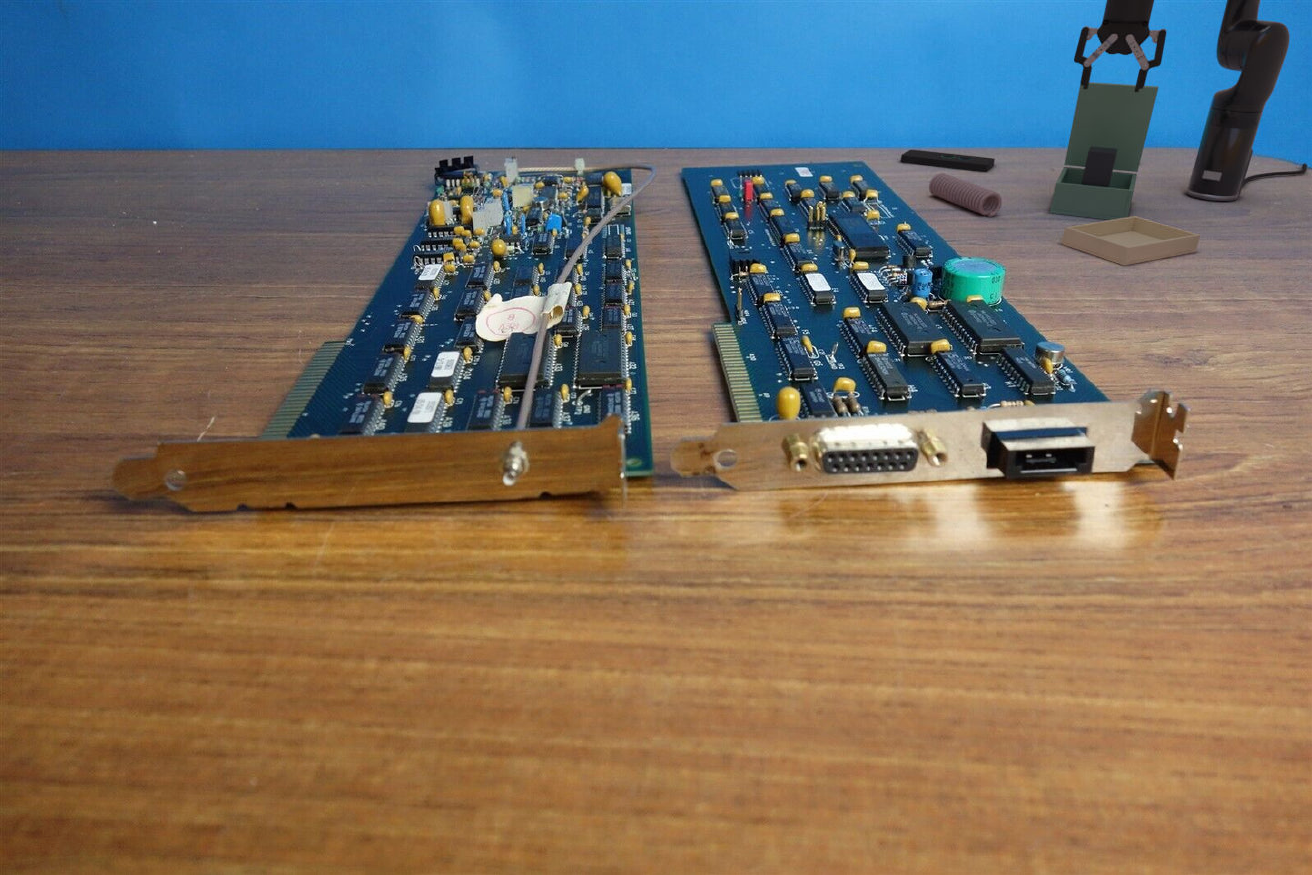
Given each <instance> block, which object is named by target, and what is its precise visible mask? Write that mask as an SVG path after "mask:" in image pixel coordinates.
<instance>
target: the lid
mask: <svg viewBox="0 0 1312 875" xmlns="http://www.w3.org/2000/svg"><path fill="white" fill-rule="evenodd" d="M1135 86H1136V84H1127V83H1126V84H1124V83H1110V82H1109V83H1108V82H1094V81H1089V86H1088V89H1083V87H1084V86H1081V83H1080V84H1079V88H1078V94H1077V99H1076V104H1075V107H1074V108H1075V109H1074V114H1073V119H1072V125H1071V129H1070V135H1069V139H1068V145H1067V149H1066V155H1065V158H1064V166H1068V167H1078V168H1082V167H1083V168H1085V165H1086V161H1087V156H1088V152H1089V149H1090V147H1102V148H1113V149H1118V150H1117V154H1116V159H1115V163H1114V167H1113V171H1120V172H1131V173H1132V172H1133V173H1138V171H1139V168H1140V164H1141V159H1142V156H1143V152H1144V147H1145V144H1146V140H1147V136H1148V132H1149V128H1150V124H1151V120H1152V116H1153V111H1154V108H1155V104H1156V99H1157V95H1158V91H1159V86H1157V85H1144V87H1143V89H1139V92H1134V91H1135Z"/></svg>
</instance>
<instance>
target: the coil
mask: <svg viewBox="0 0 1312 875" xmlns="http://www.w3.org/2000/svg"><path fill="white" fill-rule="evenodd" d="M928 190H929V191H928V192H929V193H930V194H931V195H932V196H935V197H938V198H939V199H942V200H944V201H946V202H947V201H948V202H950V203H952V204H954V205H957V206H960V207H962V208H964V209H967V210H969V211H971V212H974V213H977V214H979V215H982V216H985V217H986V216H987V217H988V218H991V217H994V216H995V215H997V214H998V212H999V211H1000V210H1001V208H1002V204H1003V203H1002V202H1003V200H1002V197H1001V194H1000V193H998V192H996V191H993V190H991V189H988V188H985V187H983V186H980V185H978V184H974V183H972V182H969V181H966V180H963V179H961V178H958V177H955V176H953V175H950V174H946V173H944V172H940V173H937V174H935V175H934V176H933V177H932V178H931V179H930V181H929V184H928Z"/></svg>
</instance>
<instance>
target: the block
mask: <svg viewBox="0 0 1312 875" xmlns="http://www.w3.org/2000/svg"><path fill="white" fill-rule="evenodd" d="M1117 150H1118V149H1113V148H1102V147H1090V149H1089V152H1088V156H1087V161H1086V165H1085V167H1084V169H1085V170H1084V174H1083V179H1082V183H1081V185H1090V186H1099V187H1109V184H1110V180H1111V176H1112V171H1114V170H1113V167H1114V163H1115V159H1116V154H1117Z"/></svg>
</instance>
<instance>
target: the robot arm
mask: <svg viewBox="0 0 1312 875" xmlns="http://www.w3.org/2000/svg"><path fill="white" fill-rule="evenodd" d="M1154 3H1155V0H1106V3H1105V9H1104V11H1103V13H1104V14H1103V16H1102V21H1101V24H1100V26H1099V27H1090V26H1088V25H1086V26H1083V27H1082V28H1081V31H1080V34H1079V37H1078V42H1077V45H1076V50H1075V53H1074V57H1073V62H1074V63H1076V64H1079V65H1081V66H1082V72H1081V77H1080V78H1081V79H1080V83H1081V86H1084V87H1083V89H1088V86H1089V82H1091V81H1090V80H1091V76H1092V70H1093V66H1092V65H1093V64H1094V63H1095V61H1096V60H1098V59H1099V57H1101V56H1102V54H1104V53H1107V54H1108V55H1118V54H1119V55H1121V56H1122V55H1123V56H1129V55H1131V54H1133V56H1134V58H1135V60H1136V61H1137V63H1138V65H1139V66H1140V68H1139V70H1138V74H1137V79H1136V83H1135V85H1136V86H1135V91H1134V92H1139V89H1143V87H1144V86H1146V80H1147V76H1148V73H1149V70H1151V69H1153V68H1156V67H1157V68H1158V67H1160V66H1161V65H1162V59H1163V54H1164V50H1165V43H1166V38H1167V33H1168V30H1167V29H1166V28H1161V29H1150V27H1149V26H1150V21H1151V16H1152V12H1153V8H1154ZM1260 3H1261V0H1226V3H1225V8H1224V11H1223V15H1222V20H1221V24H1220V27H1219V33H1218V35H1217V36H1218V37H1217V42H1216V51H1215V52H1216V53H1215V54H1216V60H1217V63H1218V64H1219V66H1220V67H1221V68H1223V69H1225V70H1229V71H1235V72H1240V74H1239V78H1238V79H1237V81H1236V82H1235V84H1234V85H1232V86H1231V87H1229V88H1226V89H1221V90H1218V91H1216V92H1215V93H1214V94H1213V96H1212V98H1211V102H1210V107H1209V109H1208V112H1207V117H1206V120H1205V124H1204V128H1203V132H1202V135H1201V139H1200V142H1199V145H1198V149H1197V152H1196V157H1195V161H1194V165H1193V168H1192V171H1191V175H1190V177H1189V181H1188V186H1187V188H1186V192H1185V193H1186V195H1188V196H1189V197H1193V198H1196V199H1200V200H1206V201H1214V202H1231V201H1236V200H1238V198H1239V197H1240V196H1241V193H1242V190H1243V188H1244V186H1246V184H1247V182H1249V181H1251V180H1255V179H1259V178H1266V177H1274V176H1295V175H1302V174H1304V173H1305V172H1307V169H1308V164H1307V163H1303V164H1302V165H1301V169H1300V170H1290V171H1289V170H1288V171H1273V172H1272V171H1271V172H1265V173H1258V174H1253V175H1249V176H1247V173H1248V170H1249V166H1250V163H1251V159H1252V156H1253V154H1254V150H1253V147H1254V142H1255V140H1256V135H1257V133H1258V129H1259V126H1260V123H1261V119H1262V115H1263V112H1264V110H1265V107H1266V104H1267V102H1268V101H1269V99H1270V98H1271V96H1272V94H1273V92H1274V90H1275V87H1276V84H1277V81H1278V80H1279V76H1280V74H1281V71H1282V68H1283V66H1284V63H1285V59H1286V56H1287V54H1288V51H1289V50H1288V49H1289V46H1290V38H1291V37H1290V31H1289V28H1288V27H1287V25H1286V24H1284V23H1282V22H1279V21H1271V20H1262V19H1258V18H1259V9H1260ZM1094 35H1096V36H1097V38H1098V40H1099V42H1100V45H1099V46H1098V47H1097V48H1096V49H1095V50H1094V51H1093V52H1092V53H1091V54H1090V55H1089V56H1088V57H1087V56H1085V55H1084V54H1085V49H1086V45H1087V42H1088V41H1090V40H1092V39H1093V37H1094ZM1149 37H1151V41H1152V43H1153V44H1156V46H1155V51H1154V57H1153V59H1150V60H1149V59H1148V58H1147V56H1146V54H1145V52H1144V50H1143V48H1142V46H1141V45H1142V44H1144V42H1145V41H1146V40H1147V39H1148V38H1149ZM1246 176H1247V177H1246Z"/></svg>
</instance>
